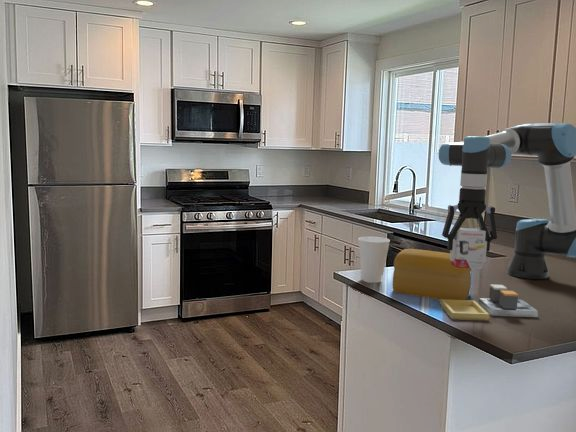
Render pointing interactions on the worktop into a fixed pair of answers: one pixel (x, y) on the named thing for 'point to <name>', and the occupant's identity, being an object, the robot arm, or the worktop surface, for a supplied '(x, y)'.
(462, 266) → the ink box
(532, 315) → the panel
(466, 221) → the tube
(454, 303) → the yellow tray
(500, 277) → the worktop surface
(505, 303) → the grey block
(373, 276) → the cup
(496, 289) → the toggle plain
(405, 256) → the bread
